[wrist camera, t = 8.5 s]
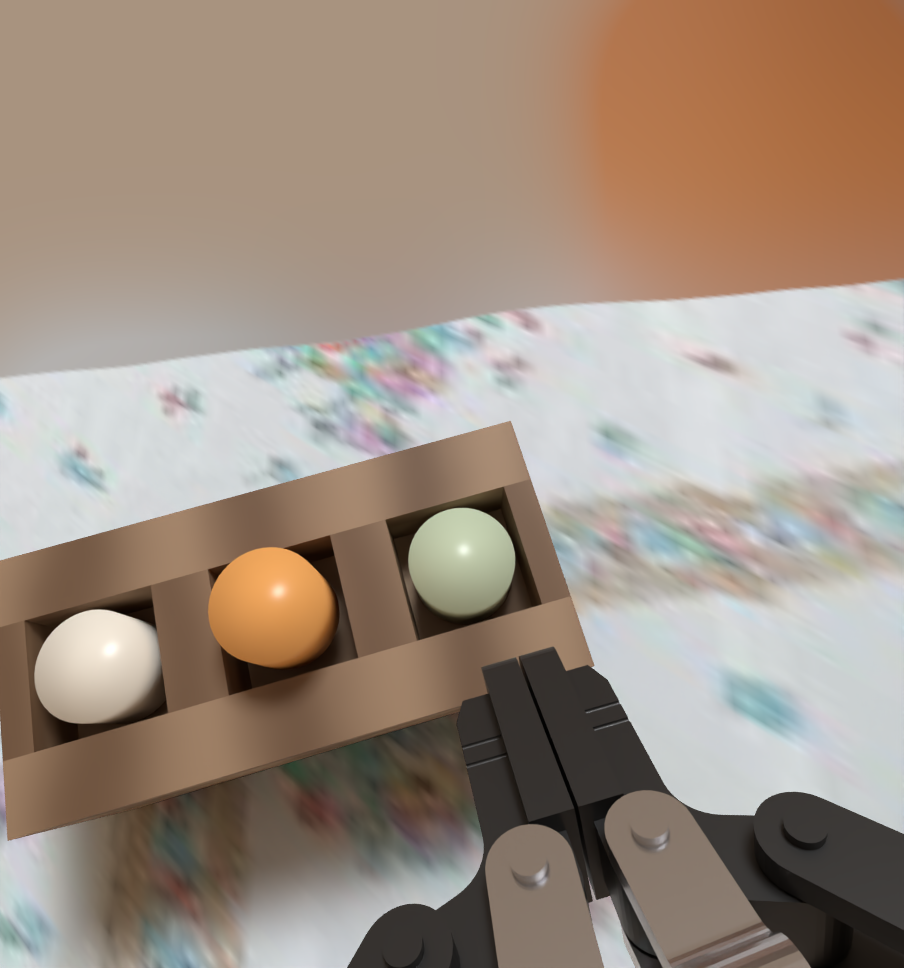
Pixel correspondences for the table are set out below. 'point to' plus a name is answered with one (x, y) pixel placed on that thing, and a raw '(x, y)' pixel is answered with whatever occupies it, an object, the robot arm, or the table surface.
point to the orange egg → (273, 609)
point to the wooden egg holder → (254, 688)
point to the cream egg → (101, 669)
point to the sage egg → (462, 565)
